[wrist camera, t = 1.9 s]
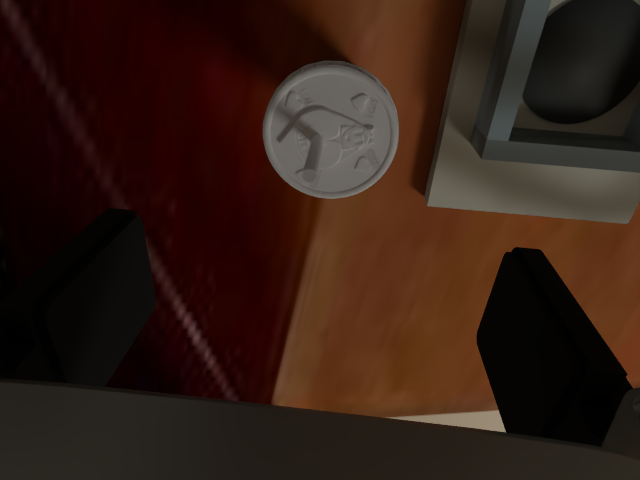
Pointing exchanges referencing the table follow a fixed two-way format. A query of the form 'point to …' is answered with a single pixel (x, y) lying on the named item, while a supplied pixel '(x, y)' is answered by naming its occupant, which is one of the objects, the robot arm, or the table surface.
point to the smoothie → (331, 129)
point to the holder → (542, 111)
